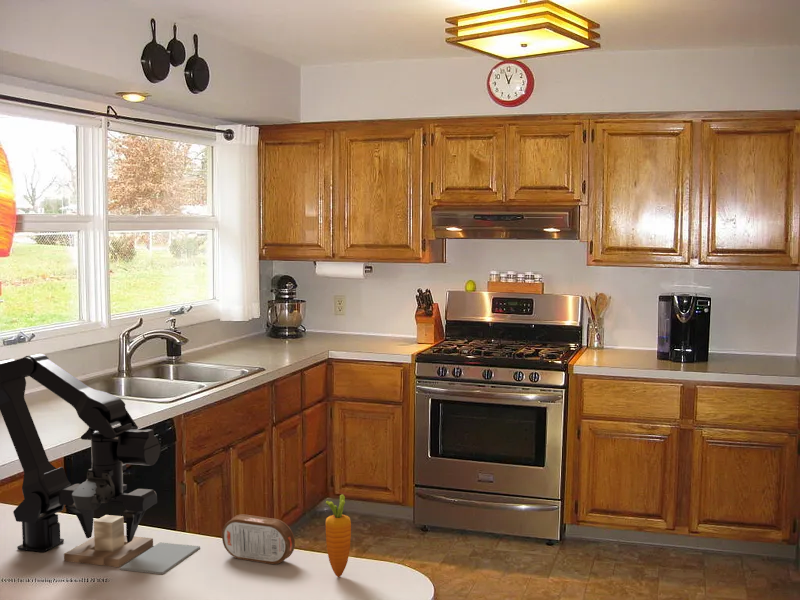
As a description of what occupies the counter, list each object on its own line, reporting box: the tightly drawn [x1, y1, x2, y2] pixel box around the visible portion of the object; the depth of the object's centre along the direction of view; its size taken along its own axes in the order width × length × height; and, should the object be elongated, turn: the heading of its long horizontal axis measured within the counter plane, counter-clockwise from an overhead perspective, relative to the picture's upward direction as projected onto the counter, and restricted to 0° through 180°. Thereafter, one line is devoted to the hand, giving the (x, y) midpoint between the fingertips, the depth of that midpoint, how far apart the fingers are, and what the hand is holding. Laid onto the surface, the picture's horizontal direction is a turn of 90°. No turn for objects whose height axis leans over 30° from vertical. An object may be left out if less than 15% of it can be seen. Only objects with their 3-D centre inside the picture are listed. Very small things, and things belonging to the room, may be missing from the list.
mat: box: [119, 542, 201, 575], centre depth 165 cm, size 9×14×1 cm, turn 165°
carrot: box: [325, 494, 352, 578], centre depth 154 cm, size 5×5×15 cm
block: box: [93, 514, 125, 552], centre depth 167 cm, size 4×4×7 cm
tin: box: [221, 513, 296, 565], centre depth 163 cm, size 15×3×8 cm, turn 69°
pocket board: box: [63, 534, 154, 568], centre depth 168 cm, size 12×12×2 cm
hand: (109, 539), depth 167 cm, fingers open, 9 cm apart
